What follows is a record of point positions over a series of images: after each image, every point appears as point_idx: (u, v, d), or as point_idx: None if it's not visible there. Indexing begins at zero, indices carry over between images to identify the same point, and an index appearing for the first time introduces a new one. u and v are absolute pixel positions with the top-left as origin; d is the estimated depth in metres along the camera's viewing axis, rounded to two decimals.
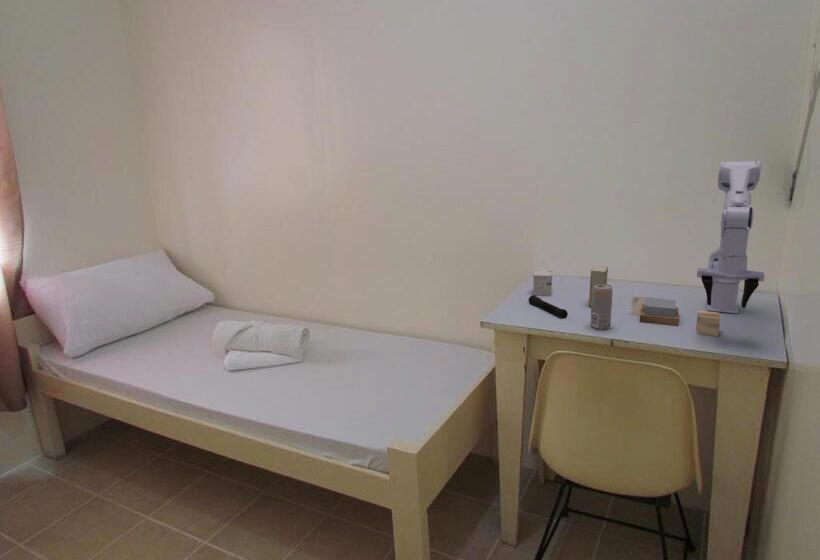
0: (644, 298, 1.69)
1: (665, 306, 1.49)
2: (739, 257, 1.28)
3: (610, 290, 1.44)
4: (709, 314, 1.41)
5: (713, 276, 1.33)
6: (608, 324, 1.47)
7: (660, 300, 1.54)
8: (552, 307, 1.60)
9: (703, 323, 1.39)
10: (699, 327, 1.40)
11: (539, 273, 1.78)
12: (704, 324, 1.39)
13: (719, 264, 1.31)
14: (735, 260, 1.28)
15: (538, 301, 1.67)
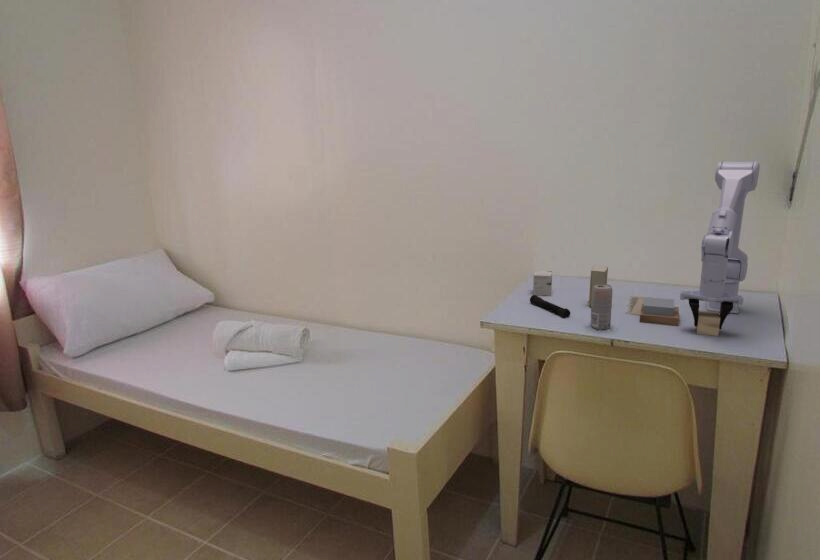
0: None
1: (664, 306, 1.49)
2: (719, 282, 1.35)
3: (610, 290, 1.44)
4: (709, 313, 1.41)
5: (695, 299, 1.41)
6: (608, 324, 1.47)
7: (658, 299, 1.54)
8: (554, 307, 1.61)
9: (703, 323, 1.39)
10: (699, 327, 1.40)
11: (539, 273, 1.78)
12: (704, 324, 1.39)
13: (701, 288, 1.39)
14: (715, 284, 1.35)
15: (540, 301, 1.67)
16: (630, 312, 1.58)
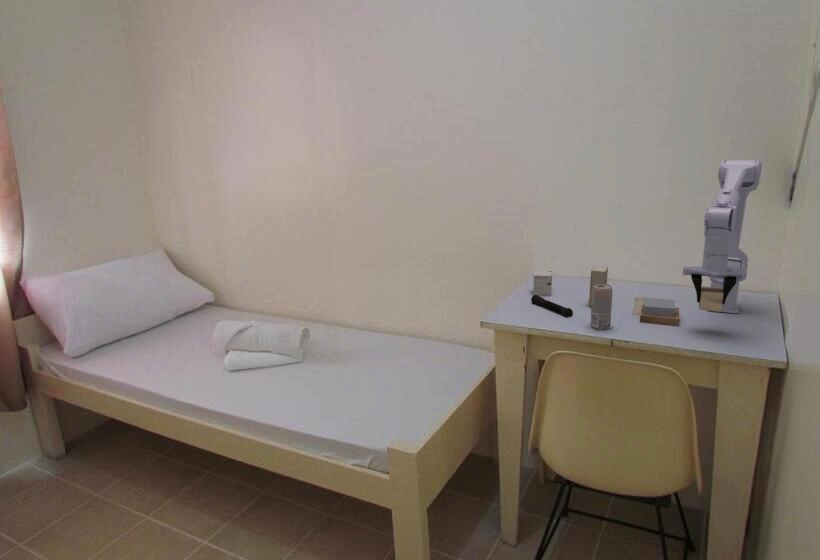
0: None
1: (664, 306, 1.49)
2: (722, 256, 1.33)
3: (610, 290, 1.44)
4: (712, 289, 1.39)
5: (698, 274, 1.39)
6: (608, 324, 1.47)
7: (658, 300, 1.54)
8: (557, 306, 1.61)
9: (705, 298, 1.37)
10: (702, 302, 1.38)
11: (539, 273, 1.78)
12: (707, 299, 1.37)
13: (703, 262, 1.37)
14: (718, 259, 1.33)
15: (541, 300, 1.67)
16: None
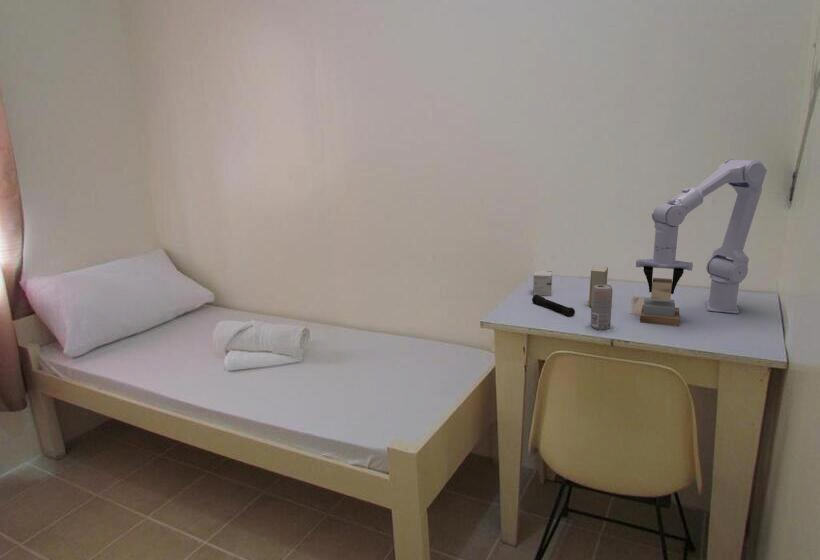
0: None
1: (664, 306, 1.49)
2: (670, 249, 1.44)
3: (610, 290, 1.44)
4: (662, 280, 1.50)
5: (649, 266, 1.50)
6: (608, 324, 1.47)
7: (658, 300, 1.54)
8: (558, 306, 1.61)
9: (656, 288, 1.49)
10: (653, 292, 1.49)
11: (539, 273, 1.78)
12: (657, 289, 1.49)
13: (654, 255, 1.48)
14: (666, 251, 1.45)
15: (543, 300, 1.67)
16: None
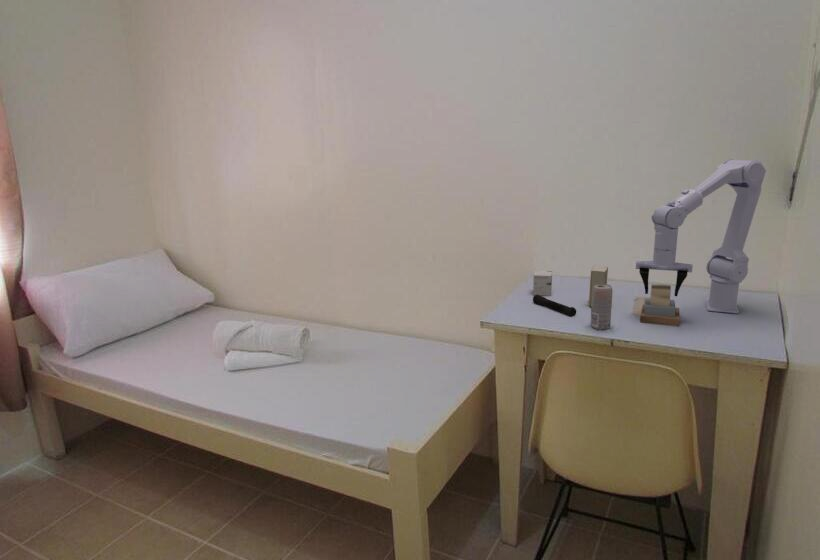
0: (644, 298, 1.70)
1: (665, 306, 1.49)
2: (670, 251, 1.44)
3: (610, 290, 1.44)
4: (661, 286, 1.51)
5: (649, 268, 1.50)
6: (608, 324, 1.47)
7: None
8: (560, 305, 1.61)
9: (655, 295, 1.49)
10: (652, 298, 1.50)
11: (539, 273, 1.78)
12: (656, 296, 1.49)
13: (654, 257, 1.48)
14: (666, 253, 1.45)
15: (543, 300, 1.67)
16: None
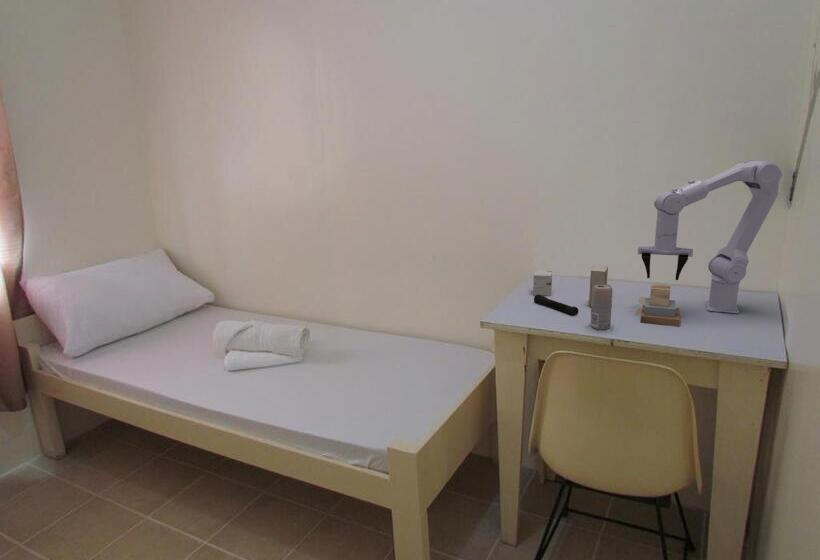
0: (644, 298, 1.70)
1: (665, 307, 1.49)
2: (671, 236, 1.49)
3: (610, 290, 1.44)
4: (661, 286, 1.51)
5: (651, 253, 1.55)
6: (608, 324, 1.47)
7: None
8: (562, 305, 1.62)
9: (654, 295, 1.50)
10: (651, 298, 1.50)
11: (539, 273, 1.78)
12: (656, 295, 1.50)
13: (655, 242, 1.53)
14: (668, 238, 1.49)
15: (545, 300, 1.68)
16: None
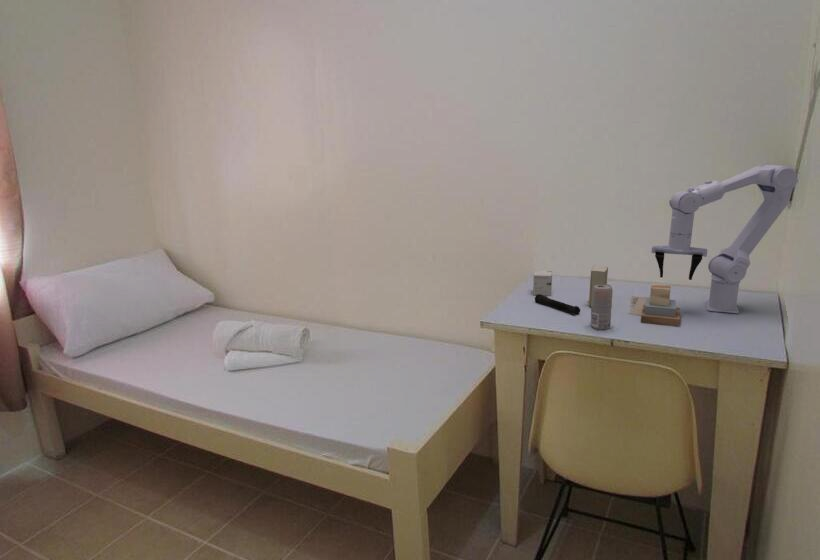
0: (644, 298, 1.69)
1: (665, 306, 1.49)
2: (686, 235, 1.49)
3: (610, 290, 1.44)
4: (661, 286, 1.51)
5: (665, 252, 1.54)
6: (608, 324, 1.47)
7: None
8: (563, 305, 1.62)
9: (654, 294, 1.50)
10: (651, 298, 1.50)
11: (539, 273, 1.78)
12: (655, 295, 1.49)
13: (669, 241, 1.52)
14: (682, 237, 1.49)
15: (546, 299, 1.68)
16: (630, 312, 1.58)
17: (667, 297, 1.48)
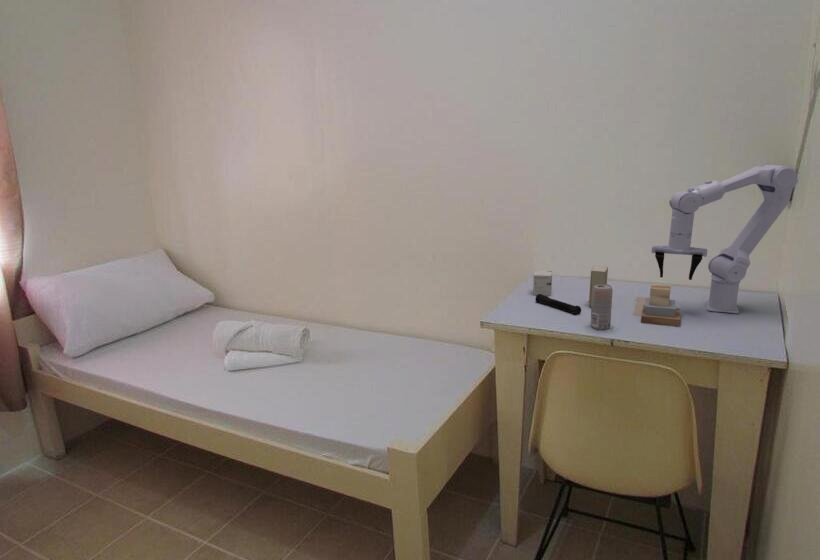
0: (644, 298, 1.70)
1: (665, 307, 1.49)
2: (686, 235, 1.49)
3: (610, 290, 1.44)
4: (661, 286, 1.51)
5: (665, 252, 1.54)
6: (608, 324, 1.47)
7: None
8: (564, 304, 1.62)
9: (654, 294, 1.50)
10: (651, 298, 1.50)
11: (539, 273, 1.78)
12: (655, 295, 1.50)
13: (669, 241, 1.52)
14: (682, 237, 1.49)
15: (547, 299, 1.68)
16: None
17: (667, 297, 1.48)
